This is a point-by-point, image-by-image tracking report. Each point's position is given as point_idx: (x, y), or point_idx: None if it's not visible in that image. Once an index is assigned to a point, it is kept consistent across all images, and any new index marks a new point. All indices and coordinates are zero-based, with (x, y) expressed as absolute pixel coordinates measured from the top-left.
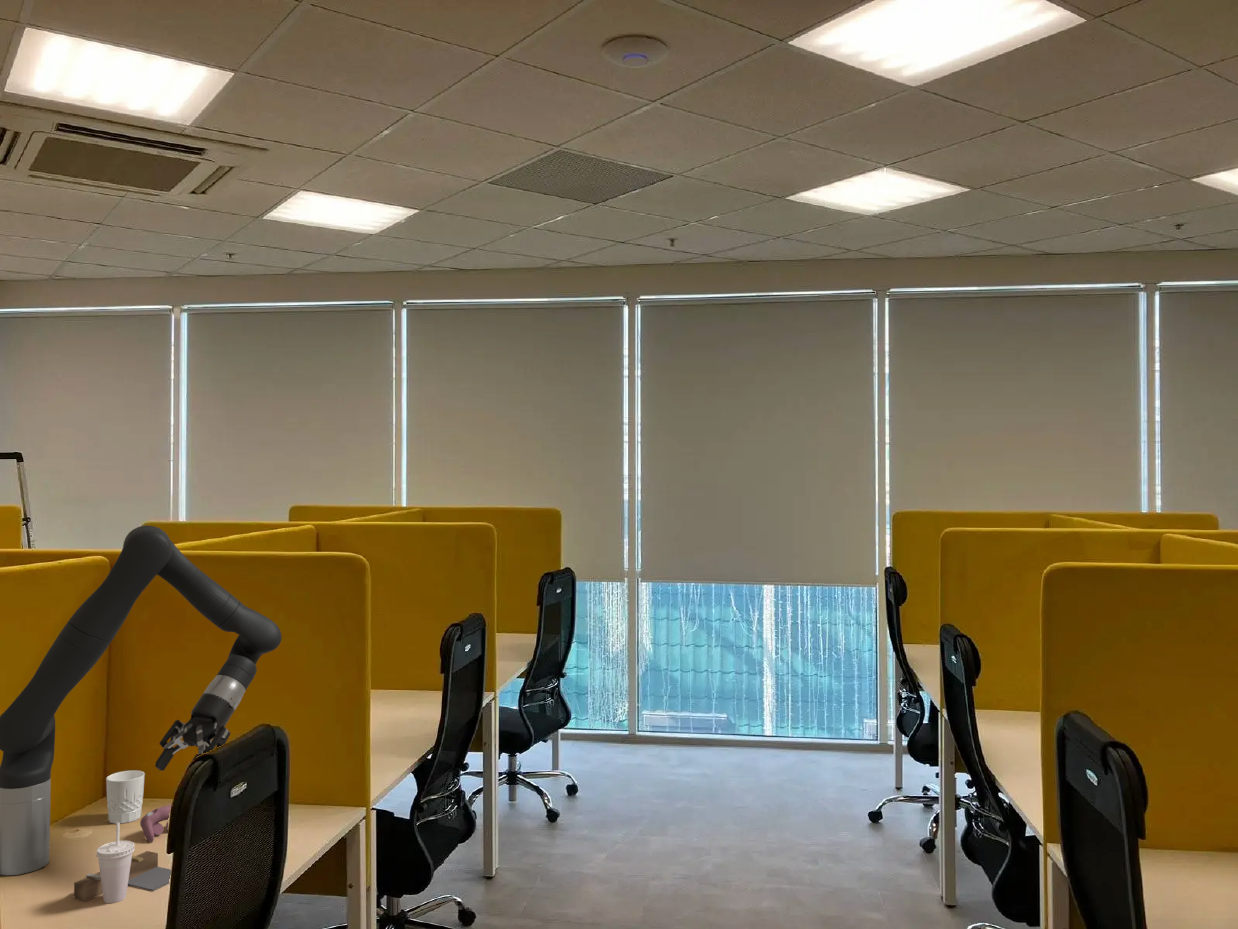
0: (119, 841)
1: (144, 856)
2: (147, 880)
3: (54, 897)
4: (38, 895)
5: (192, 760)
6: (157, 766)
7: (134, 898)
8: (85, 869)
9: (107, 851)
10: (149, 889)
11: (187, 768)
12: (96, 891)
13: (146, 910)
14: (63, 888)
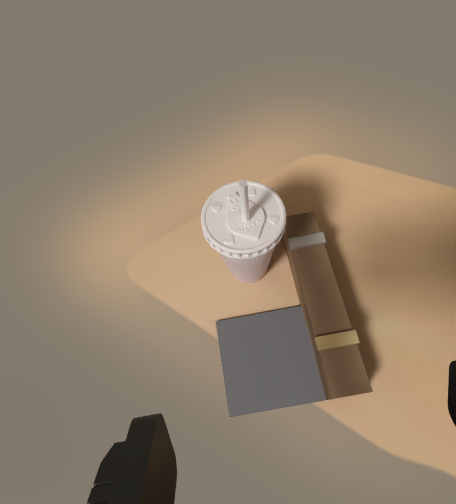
0: (272, 235)
1: (338, 365)
2: (268, 339)
3: (346, 212)
4: (378, 201)
5: (136, 489)
6: (454, 361)
7: (219, 286)
8: (451, 302)
9: (233, 193)
10: (225, 320)
11: (154, 422)
12: (287, 248)
13: (155, 273)
14: (376, 236)
